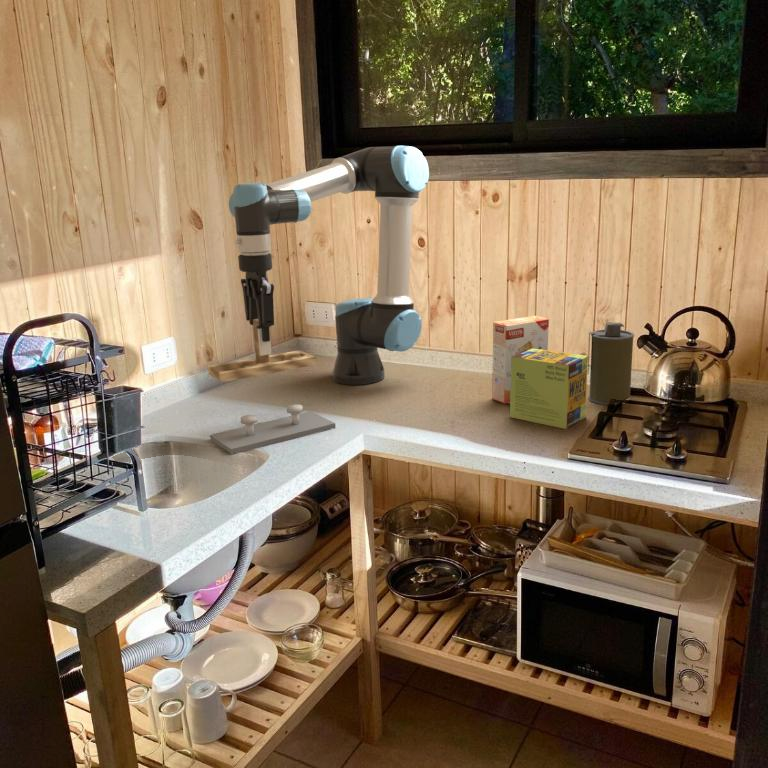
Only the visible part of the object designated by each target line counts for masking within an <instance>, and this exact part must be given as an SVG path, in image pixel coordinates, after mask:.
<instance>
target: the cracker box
mask: <svg viewBox="0 0 768 768" xmlns="http://www.w3.org/2000/svg"><path fill="white" fill-rule="evenodd" d="M549 323H550V319H549V318H547V317H543V316H538V315H530V316H523V317H518V318H517V317H516V318H511V319H504V320H498V321H493V326H492V327H493V330H492V331H493V332H492V372H491V373H492V377H491V379H492V380H491V382H492V383H491V384H492V385H491V387H492V388H491V399H492V400H495V401H497V402H499V403H502V404H504V405H505V404H510V392H511V357H512V356H515V355H517V354H520V353H522V352H525V351H527V350H530V349H541V350H548V348H549V327H550V326H549ZM548 351H549V350H548Z"/></svg>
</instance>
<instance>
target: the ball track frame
mask: <svg viewBox="0 0 768 768" xmlns="http://www.w3.org/2000/svg"><path fill="white" fill-rule="evenodd" d="M256 326H259V321H258V319H253V327H254V339H255V352H256V353H255V357H253V358H246V359H242V360H241V359H240V360H235V361H228V362H224V363H218V364H217V363H216V364H211V365H207V373H208V374H207V375H209V376H210V377H212V378H215V379H216V380H218V381H220V382H221V383H226V382H230V381H235V380H242V379H248V378H253V377H258V376H263V375H268V374H275V373H280V372H285V371H290V370H295V369H296V370H297V369H300V368H307V367H312V366H317V356H315V355H313V354H310V353H308V352H305V351H302V350H301V349H299V350H293V351H287V352H281V353H276V354H268V355H263V356H260V354H259V341H258V329H257V327H256Z"/></svg>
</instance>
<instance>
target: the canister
mask: <svg viewBox="0 0 768 768" xmlns="http://www.w3.org/2000/svg"><path fill="white" fill-rule="evenodd" d="M622 327H623V328H624V327H625V325H624V323H623V322H611V321H610V322H606V323H605V327H604V329H597V330H595V331H589V333H588V335H589V336H588V350H587V351H588V353H587V354H588V355H587V356H588V363H587V375H589V373H590V376H589V377H590V378H589V396H588V400H589V401H590V402H592V403H593V404H597V405H602V406H609V405H608V403H609V401H610V400H611V399H616V400H624V399H628V398H629V397H630V398H631V383H632V366H633V365H632V364H633V352H634V351H633V347H634V337H635V334H634V333H633V332H631V331H630V330H625V329H624V330H623V329H621V328H622ZM590 341H591V342H590ZM590 346H591V347H590ZM590 348H591V351H590ZM590 352H591V353H590ZM589 367H590V368H589ZM589 370H590V371H589Z"/></svg>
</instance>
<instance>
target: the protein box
mask: <svg viewBox="0 0 768 768" xmlns="http://www.w3.org/2000/svg"><path fill="white" fill-rule="evenodd" d="M587 382H588V355H586V354H585V355H584V354H577V353H571V352H570V353H569V352H564V351H563V352H562V351H554V350H541V349H530V350H527V351H525V352H522V353H520V354H517V355H515V356H512V357H511V392H510V403H509V404H510V405H509V409H510V410H509V417H510V418H512V419H517V420H521V421H527V422H532V423H536V424H540V425H546V426H550V427H555V428H560V429H565V430H566V429H568V428H570V427H572V426H573V425H575V424H576V423H578V422H579V421H582V420H583V419H585V418H586V416H587V415H586V414H587V413H586V412H587V410H586V409H587V387H588V385H587Z"/></svg>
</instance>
